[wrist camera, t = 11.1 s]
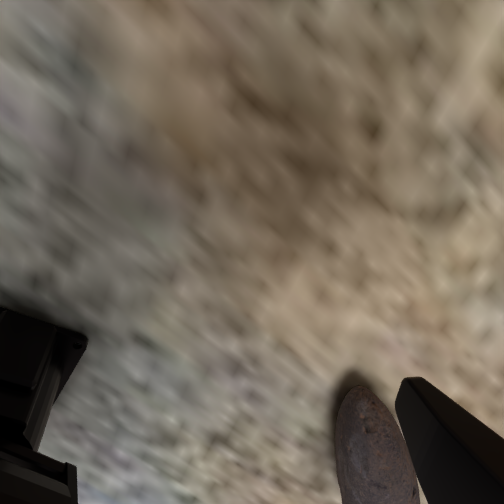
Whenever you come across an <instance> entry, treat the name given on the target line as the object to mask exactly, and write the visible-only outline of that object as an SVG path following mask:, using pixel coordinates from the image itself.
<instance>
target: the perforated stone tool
mask: <svg viewBox="0 0 504 504" xmlns="http://www.w3.org/2000/svg"><path fill="white" fill-rule="evenodd" d="M335 453H336V467H337V476H338V483H339V486H340V491H341V496H342V504H420V498H419V488H418V483H417V478H416V473H415V470H414V467H413V464H412V461H411V458H410V455H409V451H408V448H407V445H406V443H405V440H404V438H403V436H402V434H401V431H400V429H399V427H398V425H397V423H396V421H395V419H394V418H393V416H392V415H391V413H390V412H389V410H388V409H387V408H386V406H385V405H384V404H383V403H382V401H381V400H380V399H379V398H378V397H377V396H376V395H375V394H374V393H372V392H371V391H370V390H369V389H367V388H365V387H361V386H359V385H358V386H357V387H353V388H352V389H351V390H350V391H349V392H348V393H347V395H346V396H345V398H344V400H343V402H342V404H341V406H340V409H339V412H338V416H337V421H336V432H335Z"/></svg>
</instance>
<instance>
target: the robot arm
mask: <svg viewBox="0 0 504 504" xmlns="http://www.w3.org/2000/svg"><path fill="white" fill-rule="evenodd" d="M76 342H78V343H80V344H76ZM87 344H88V339H87V338H86V337H85V336H83V335H81V334H78V333H75V332H72V331H70V330H67V329H64V328H61V327H58V326H55V325H52V324H49V323H46V322H43V321H40V320H38V319H35V318H32V317H29V316H26V315H23V314H20V313H17V312H14V311H11V310H8V309H6V308H3V307H0V504H78V494H77V467H76V466H74V465H72V464H70V463H67V462H66V463H62V462H60V461H57V460H55V459H53V458H50V457H48V456H46V455H43V454H41V453H39V452H37V451H38V448H39V445H40V442H41V439H42V436H43V433H44V430H45V427H46V424H47V420H48V417H49V414H50V411H51V408H52V406H53V404H54V402H55V401H56V399H57V397H58V396H59V394H60V392H61V390H62V389H63V387H64V385H65V384H66V382H67V380H68V379H69V377H70V375H71V374H72V372H73V370H74V368H75V367H76V365H77V363H78V362H79V360H80V358H81V357H82V355H83V353H84V351H85V350H86V347H87ZM395 410H396V414H397V417H398V420H399V423H400V426H401V429H402V433H403V436H404V439H405V442H406V445H407V448H408V451H409V455H410V458H411V461H412V464H413V467H414V470H415V473H416V476H417V478H418V481H419V483H420V485H421V488H422V490H423V493H424V495H425V497H426V499H427V502H428V504H504V439H503V438H502V437H501V436H499V435H498V434H497V433H495V432H494V431H493V430H491V429H490V428H489V427H487V426H486V425H485V424H483V423H482V422H481V421H480V420H478V419H477V418H476V417H474V416H473V415H472V414H470V413H469V412H468V411H466V410H465V409H464V408H462V407H461V406H460V405H458V404H457V403H456V402H454V401H453V400H452V399H450V398H449V397H448V396H447V395H445V394H444V393H443V392H441V391H440V390H439V389H437V388H436V387H435V386H433V385H432V384H431V383H429V382H428V381H427V380H425V379H424V378H422V377H406V378H404V379H403V380H402V382H401V385H400V388H399V391H398V394H397V397H396V400H395Z"/></svg>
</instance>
